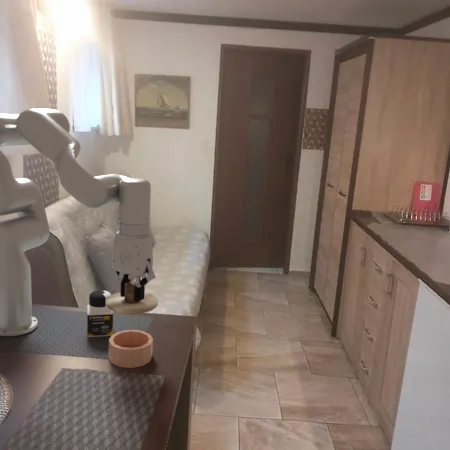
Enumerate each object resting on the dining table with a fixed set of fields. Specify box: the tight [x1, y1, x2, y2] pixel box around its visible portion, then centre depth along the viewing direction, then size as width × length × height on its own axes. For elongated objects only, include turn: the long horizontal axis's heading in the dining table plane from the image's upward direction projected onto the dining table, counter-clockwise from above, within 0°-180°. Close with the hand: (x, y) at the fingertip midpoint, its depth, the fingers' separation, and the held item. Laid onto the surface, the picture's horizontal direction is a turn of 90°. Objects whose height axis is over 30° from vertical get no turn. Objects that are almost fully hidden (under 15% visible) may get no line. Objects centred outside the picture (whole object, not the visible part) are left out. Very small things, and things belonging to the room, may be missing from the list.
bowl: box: [108, 329, 154, 369], centre depth 126 cm, size 11×11×5 cm
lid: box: [106, 280, 159, 315], centre depth 123 cm, size 13×13×5 cm
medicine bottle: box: [86, 289, 114, 338], centre depth 138 cm, size 7×7×12 cm
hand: (132, 297), depth 123 cm, fingers closed on lid, 4 cm apart
